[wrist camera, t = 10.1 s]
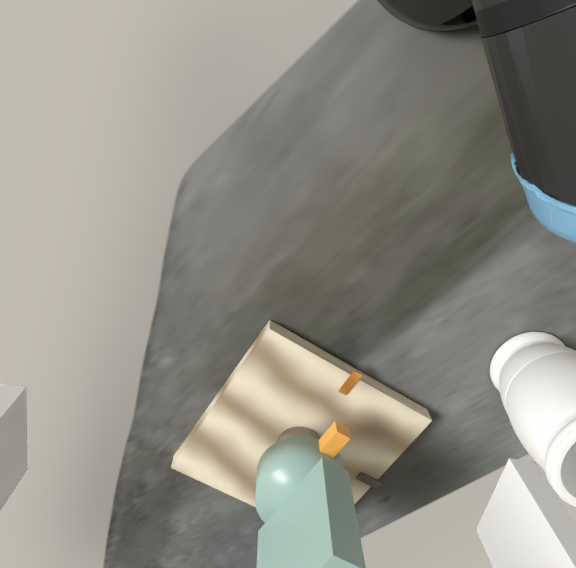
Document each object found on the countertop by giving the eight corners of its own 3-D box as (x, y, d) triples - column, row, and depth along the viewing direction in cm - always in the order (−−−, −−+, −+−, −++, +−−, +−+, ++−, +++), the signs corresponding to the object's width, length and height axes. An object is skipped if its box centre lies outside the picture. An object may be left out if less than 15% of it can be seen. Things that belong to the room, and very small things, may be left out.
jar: (596, 358, 53) (708, 456, 39) (522, 419, 56) (603, 530, 42) (532, 302, 50) (628, 387, 36) (459, 370, 53) (522, 472, 39)
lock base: (273, 314, 50) (272, 342, 45) (435, 407, 55) (452, 442, 50) (174, 455, 57) (163, 493, 52) (326, 526, 62) (330, 568, 57)
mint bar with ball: (235, 487, 51) (220, 624, 38) (304, 402, 47) (313, 523, 34) (306, 521, 53) (315, 662, 40) (377, 442, 49) (412, 571, 36)
